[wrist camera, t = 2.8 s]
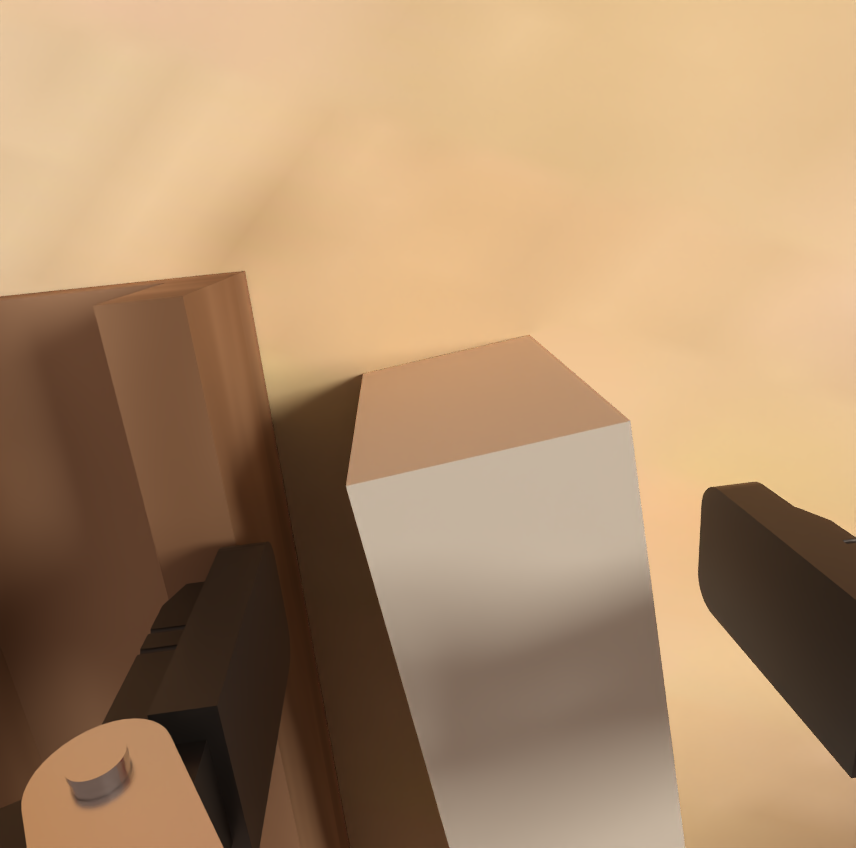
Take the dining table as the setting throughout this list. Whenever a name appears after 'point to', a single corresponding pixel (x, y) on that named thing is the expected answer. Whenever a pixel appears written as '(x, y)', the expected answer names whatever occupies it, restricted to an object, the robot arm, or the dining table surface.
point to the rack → (139, 515)
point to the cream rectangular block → (517, 598)
